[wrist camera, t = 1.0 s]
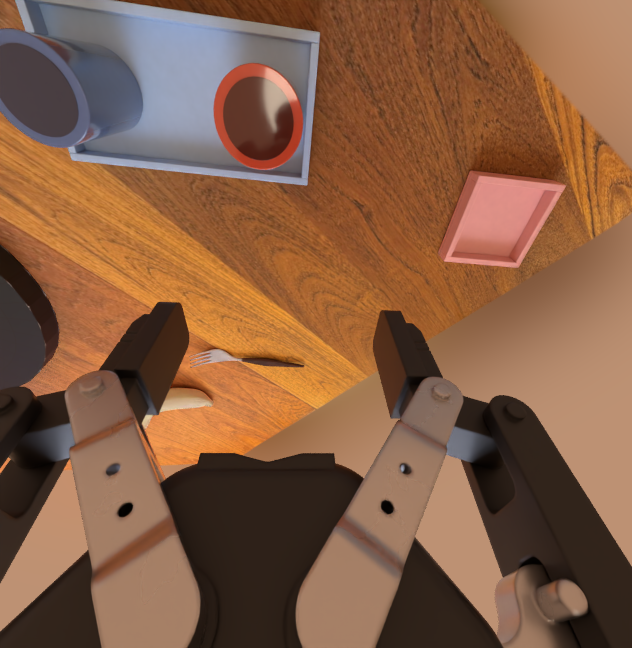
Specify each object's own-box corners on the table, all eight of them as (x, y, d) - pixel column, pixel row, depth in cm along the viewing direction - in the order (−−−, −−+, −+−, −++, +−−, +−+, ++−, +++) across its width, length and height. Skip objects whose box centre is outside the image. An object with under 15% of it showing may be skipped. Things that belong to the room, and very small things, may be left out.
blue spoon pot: (52, 37, 22) (-48, 19, 16) (133, 48, 23) (67, 35, 16) (81, 127, 25) (9, 142, 19) (150, 135, 26) (102, 153, 20)
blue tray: (30, -9, 21) (8, -17, 19) (319, 35, 23) (320, 31, 21) (84, 156, 27) (71, 160, 26) (307, 180, 29) (307, 185, 28)
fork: (302, 369, 46) (302, 379, 44) (194, 358, 44) (190, 368, 42) (305, 357, 44) (305, 367, 43) (193, 345, 42) (189, 355, 41)
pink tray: (470, 170, 29) (479, 175, 27) (553, 179, 30) (566, 185, 28) (437, 253, 34) (444, 261, 33) (508, 259, 35) (518, 267, 34)
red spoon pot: (233, 62, 23) (207, 55, 17) (306, 73, 24) (307, 70, 17) (237, 145, 27) (217, 165, 20) (300, 153, 27) (299, 174, 21)
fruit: (112, 401, 49) (101, 418, 47) (187, 374, 46) (180, 392, 43) (144, 423, 53) (136, 440, 51) (215, 400, 50) (211, 417, 47)
